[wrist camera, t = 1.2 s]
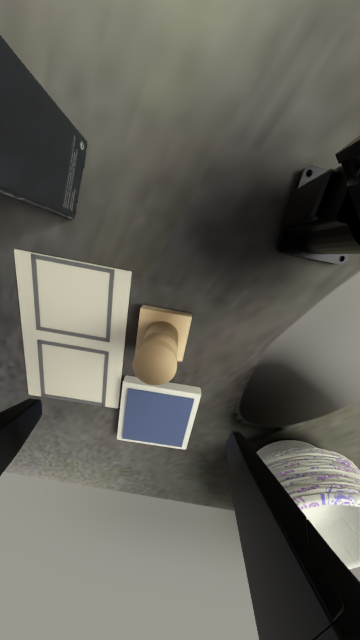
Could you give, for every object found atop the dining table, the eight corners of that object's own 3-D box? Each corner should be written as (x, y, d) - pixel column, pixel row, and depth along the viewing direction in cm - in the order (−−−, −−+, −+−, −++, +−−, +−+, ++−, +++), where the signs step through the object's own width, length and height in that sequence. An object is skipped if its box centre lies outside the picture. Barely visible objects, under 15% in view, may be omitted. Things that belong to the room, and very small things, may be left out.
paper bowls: (235, 501, 29) (253, 585, 22) (222, 431, 24) (240, 508, 17) (335, 490, 28) (391, 575, 21) (342, 414, 23) (418, 489, 16)
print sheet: (131, 271, 18) (131, 271, 18) (118, 407, 23) (117, 409, 23) (15, 249, 17) (12, 249, 17) (29, 393, 23) (28, 395, 22)
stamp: (191, 312, 19) (195, 342, 13) (182, 354, 21) (181, 399, 14) (143, 303, 19) (122, 329, 12) (138, 346, 21) (117, 389, 14)
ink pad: (200, 387, 22) (201, 396, 21) (185, 440, 25) (185, 451, 24) (125, 375, 22) (122, 383, 20) (119, 431, 25) (115, 441, 23)
